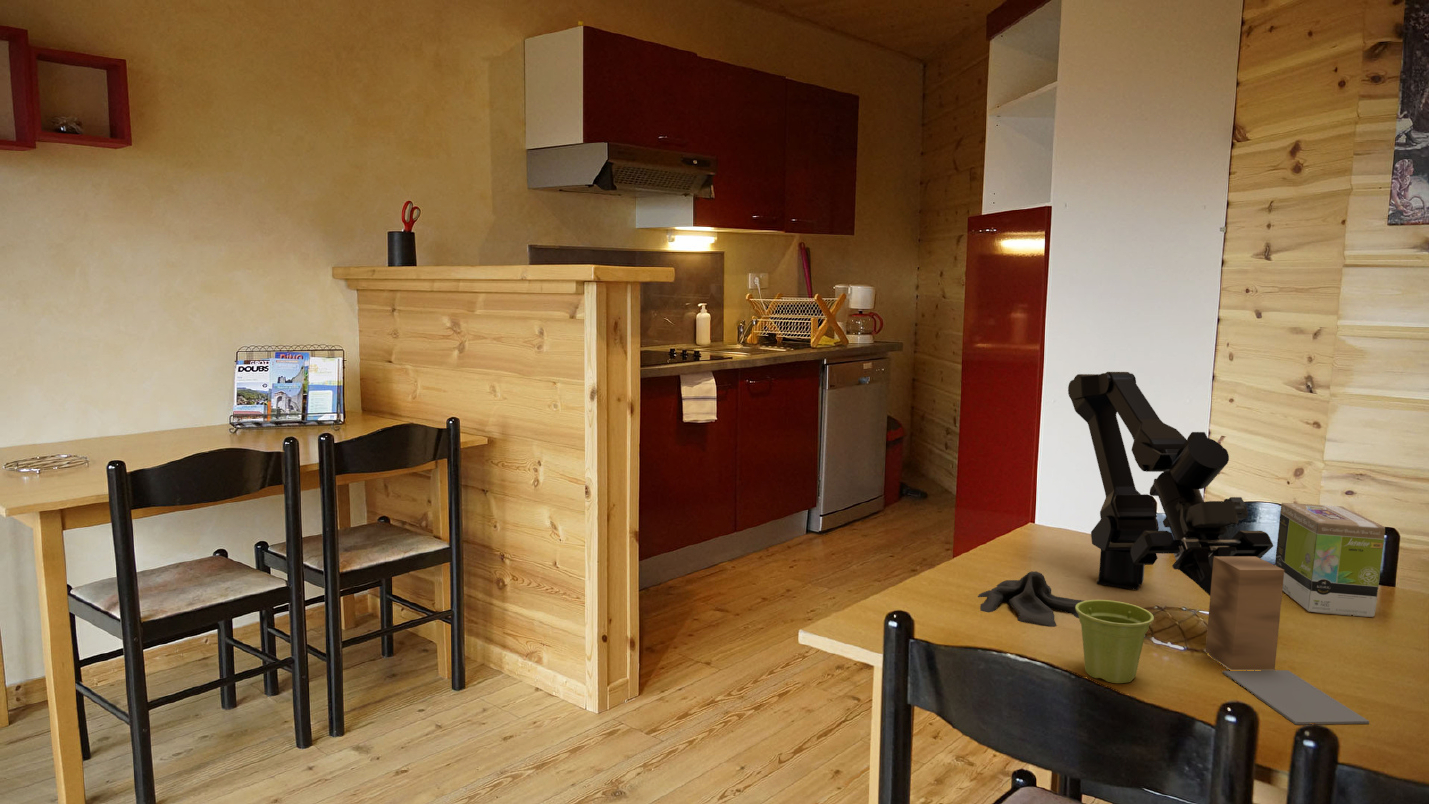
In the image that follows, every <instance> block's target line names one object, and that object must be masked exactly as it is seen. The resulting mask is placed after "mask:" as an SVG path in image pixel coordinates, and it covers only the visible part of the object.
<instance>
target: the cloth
mask: <svg viewBox="0 0 1429 804" xmlns="http://www.w3.org/2000/svg"><path fill="white" fill-rule="evenodd" d="M1051 592H1052V588H1051V586H1050V585H1048V583H1047V580H1046V579H1045V576H1044V574H1043V573H1041V572H1038V571H1034V570H1033V571H1029V572H1027V573H1026V574H1025V575H1024V576H1022V577H1021V578H1020V579H1012V580H1011V579H1010V580H1009V579H1008V580H1004V581H1001V582H999V583H998V584H997V585H996V587H993V588H991V589H990V590H987V591H983V592H981V593H979V594H978V596H977V598H986V599H985V600H984V602H982V603H980V605H979V609H980V612H984V613H993V612H994V611H997V610H998V609H997V608H998V606H999V605H1000V604H1001V605H1002V604H1003V603H1006V604H1007V605H1008V606H1011V608H1012V609H1013V610H1014V611H1016V613H1017V615H1018V617H1017V621H1018V622H1020V623H1026V624H1031V625H1037V626H1043V627H1044V626H1045V627H1050V628H1055V627H1057V626H1058V625H1057V623H1056V621H1055V613H1054V611H1053V610H1055V611H1060V612H1063V613H1067V614H1069V615H1070V614H1071V615H1072V616H1074V617H1075V618H1077V619H1079V614H1078V613H1077V612H1076V609H1075V606H1076V605H1077V604H1078V603H1080V602H1082V601H1085V600H1081V599H1074V598H1069V597H1062V596H1057V595H1053V594H1052V593H1051Z"/></svg>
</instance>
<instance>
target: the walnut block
mask: <svg viewBox="0 0 1429 804" xmlns="http://www.w3.org/2000/svg"><path fill="white" fill-rule="evenodd" d="M1283 579H1284V569H1282V568H1279V567H1277V566H1275V564H1272V563H1270V562H1268V561H1267V560H1264V559H1262V558H1258V557H1256V556H1221V557H1214V559H1213V571H1212V582H1211V594H1210V596H1209V607H1208V618H1207V629H1206V639H1205V641H1206V643H1205V652H1207V653H1209V655H1210V656H1211V657H1212V658H1213V659H1212V658H1211V657H1210V658H1211V659H1212V660H1214V659H1215V660H1216V661H1218V662H1220V663H1221V664H1222V665H1223V667H1224V666H1225V667H1226V668H1225V667H1224V668H1225V669H1227V670H1228V669H1230V670H1246V671H1247V670H1254V671H1255V670H1275V669H1276V661H1277V649H1278V642H1279V641H1278V639H1279V628H1280V619H1281V618H1280V617H1281V609H1282V608H1281V607H1282V597H1283V590H1282V589H1283ZM1215 660H1214V661H1215ZM1216 661H1215V662H1216ZM1218 662H1217V663H1218ZM1221 664H1220V665H1221ZM1222 665H1221V666H1222Z"/></svg>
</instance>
